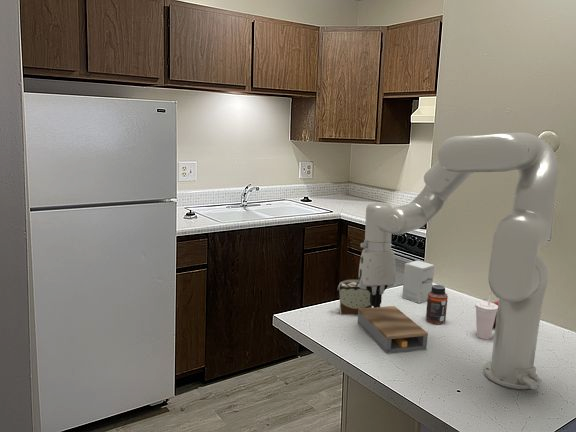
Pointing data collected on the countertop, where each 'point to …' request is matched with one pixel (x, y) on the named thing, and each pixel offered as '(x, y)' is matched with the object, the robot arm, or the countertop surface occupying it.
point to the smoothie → (485, 317)
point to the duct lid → (392, 322)
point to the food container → (353, 297)
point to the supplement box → (417, 281)
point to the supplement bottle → (436, 305)
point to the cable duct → (392, 344)
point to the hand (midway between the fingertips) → (375, 306)
